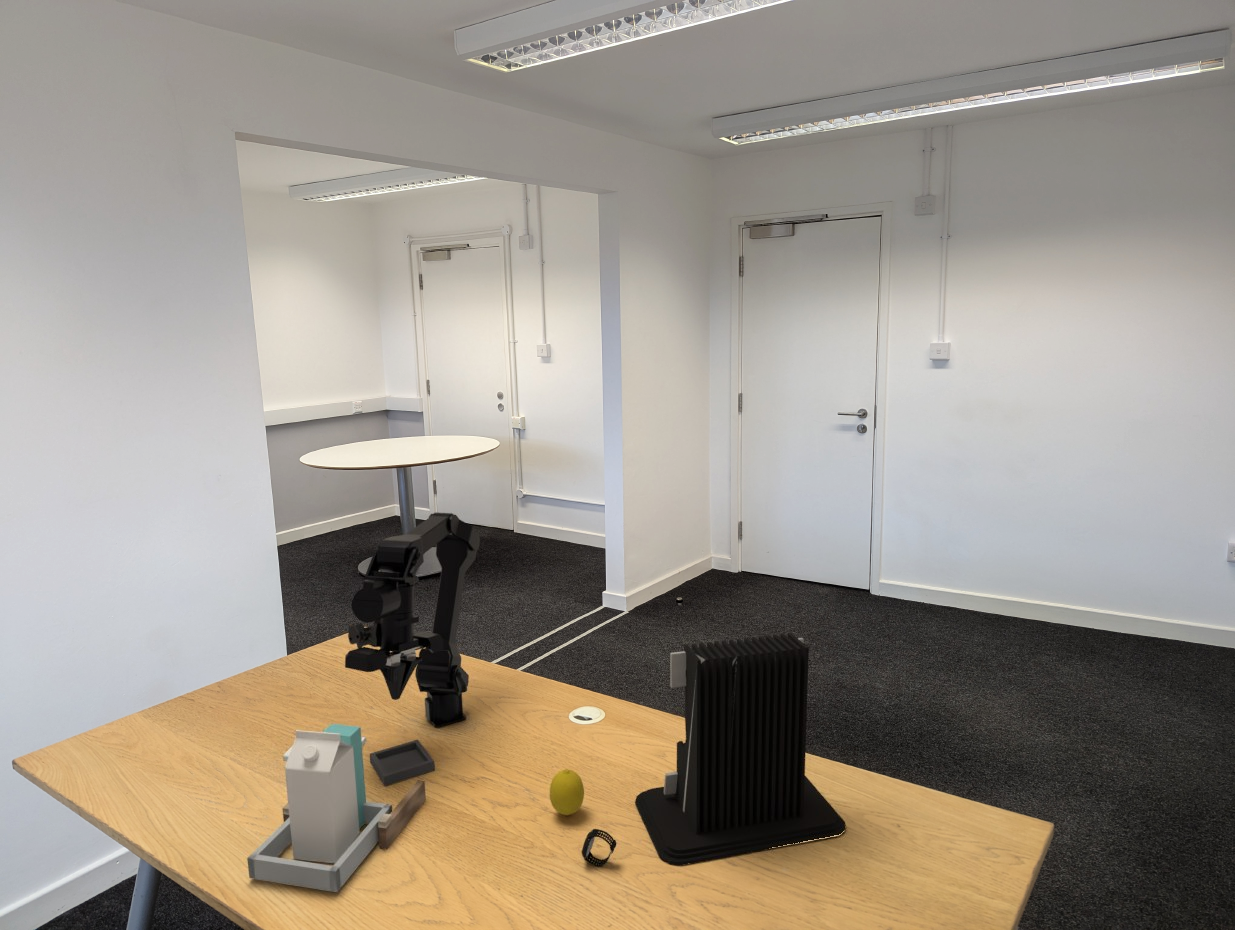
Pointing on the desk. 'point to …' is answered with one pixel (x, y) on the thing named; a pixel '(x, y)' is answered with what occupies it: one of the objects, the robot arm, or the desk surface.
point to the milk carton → (321, 796)
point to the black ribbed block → (738, 755)
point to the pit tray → (401, 762)
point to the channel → (394, 814)
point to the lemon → (566, 792)
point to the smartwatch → (589, 843)
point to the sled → (333, 877)
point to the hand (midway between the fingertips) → (395, 699)
